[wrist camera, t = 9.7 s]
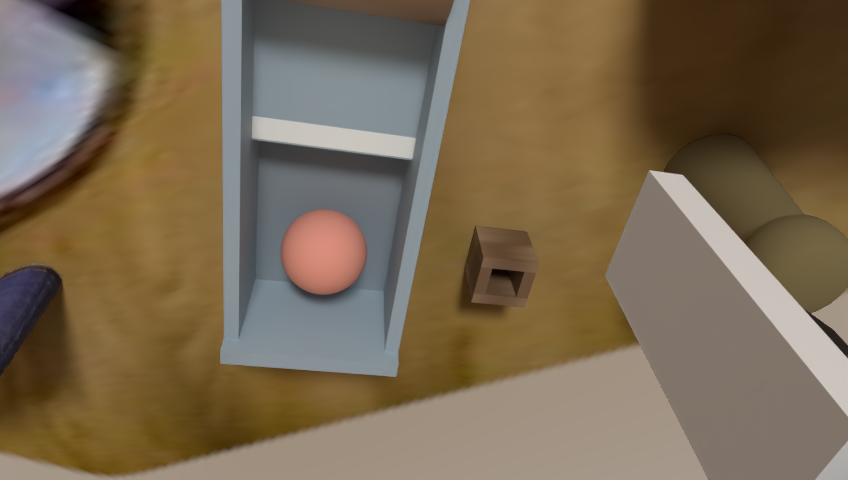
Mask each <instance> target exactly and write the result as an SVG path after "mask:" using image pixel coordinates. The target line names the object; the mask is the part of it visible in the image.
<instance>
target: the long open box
mask: <svg viewBox="0 0 848 480" xmlns="http://www.w3.org/2000/svg"><path fill="white" fill-rule="evenodd" d="M469 3H470V0H222V128H223V265H224V340H223V343H222V346H221V350H220V364H233V365H246V366H259V367H273V368H286V369H299V370H312V371H326V372H339V373H352V374H365V375H378V376H392V377H396V375H397V370H398V365H399V363H398V350H399V346H400V341H401V336H402V331H403V326H404V321H405V316H406V311H407V306H408V302H409V297H410V292H411V287H412V282H413V277H414V272H415V267H416V262H417V258H418V253H419V248H420V243H421V238H422V233H423V228H424V223H425V218H426V214H427V209H428V204H429V199H430V194H431V189H432V184H433V179H434V174H435V170H436V165H437V160H438V155H439V150H440V145H441V140H442V135H443V130H444V126H445V121H446V116H447V111H448V106H449V101H450V96H451V91H452V86H453V82H454V77H455V72H456V67H457V62H458V57H459V52H460V47H461V42H462V38H463V33H464V28H465V23H466V18H467V13H468V8H469ZM320 209H329V210H334V211H338V212H340V213H343V214H345V215H346V216H348V217H350V218H351V219H352V220H353V221H354V222H355V223H356V224H357V225H358V226H359V228H360V229H361V231H362V233H363V235H364V237H365V240H366V244H367V259H366V264H365V267H364V269H363V271H362V273H361V274H360V276H359V277H358V279H357V280H356V281H355V282H354V283H353V284H352V285H351V286H349V287H348V288H346V289H344V290H342V291H340V292H337V293H334V294H327V295H319V294H314V293H310V292H307V291H305V290H303V289H301V288H300V287H298V286H297V285H296V284H294V283H293V282H292V281H291V279H290V278H289V277H288V275H287V274H286V272H285V270H284V267H283V265H282V261H281V243H282V239H283V236H284V234H285V232H286V231H287V229H288V227H289V226H290V225H291V224H292V223H293V222H294V221H295V220H296V219H297V218H298V217H300V216H301V215H303V214H305V213H307V212H310V211H314V210H320Z"/></svg>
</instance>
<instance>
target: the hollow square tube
mask: <svg viewBox="0 0 848 480" xmlns="http://www.w3.org/2000/svg"><path fill="white" fill-rule="evenodd" d="M538 265H539V262H538V260H537V257H536V255H535V252H534V249H533V247H532V244H531V241H530V239H529V236H528V234H527V232H523V231H515V230H506V229H497V228H489V227H480V226H476V227H475V230H474V234H473V238H472V242H471V246H470V250H469V254H468V257H467V261H466V265H465V274H466V279H467V283H468V288H469V293H470V298H471V302H473V303H483V304H493V305H504V306H514V307H524V306H525V303H526V300H527V297H528V295H529V292H530V289H531V286H532V283H533V280H534V277H535V274H536V271H537V268H538Z"/></svg>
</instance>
